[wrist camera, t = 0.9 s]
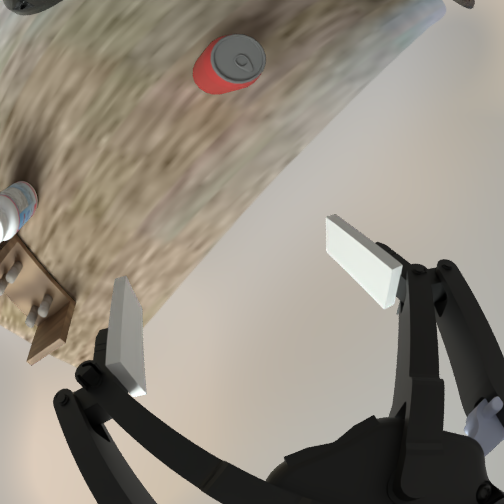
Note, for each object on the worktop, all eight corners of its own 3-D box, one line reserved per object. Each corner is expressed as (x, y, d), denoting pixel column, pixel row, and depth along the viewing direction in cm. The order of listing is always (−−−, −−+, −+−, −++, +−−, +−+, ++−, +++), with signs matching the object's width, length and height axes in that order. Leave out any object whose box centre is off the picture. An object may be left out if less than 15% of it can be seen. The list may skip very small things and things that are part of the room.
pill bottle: (22, 225, 32) (-9, 260, 23) (2, 195, 29) (-34, 223, 20) (45, 203, 33) (15, 236, 23) (26, 171, 29) (-11, 195, 20)
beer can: (215, 104, 34) (238, 101, 25) (181, 73, 31) (190, 57, 21) (248, 73, 34) (283, 61, 24) (216, 42, 30) (240, 18, 20)
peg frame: (-13, 266, 32) (-37, 300, 24) (15, 233, 32) (-11, 265, 24) (43, 327, 41) (31, 365, 33) (76, 302, 42) (65, 343, 33)
